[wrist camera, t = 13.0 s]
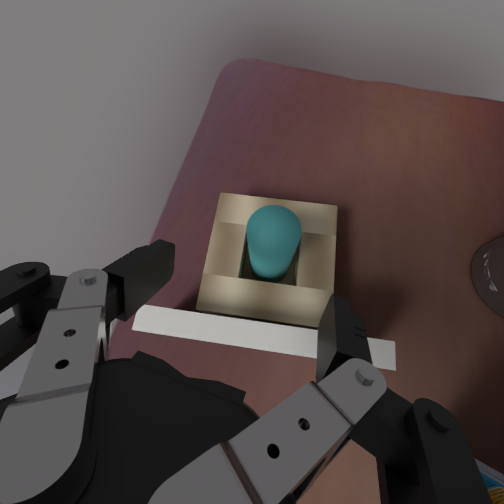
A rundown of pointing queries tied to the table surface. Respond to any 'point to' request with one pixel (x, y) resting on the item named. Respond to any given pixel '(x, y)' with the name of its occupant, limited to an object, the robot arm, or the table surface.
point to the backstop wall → (247, 333)
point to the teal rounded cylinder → (272, 241)
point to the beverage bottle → (492, 482)
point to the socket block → (265, 293)
